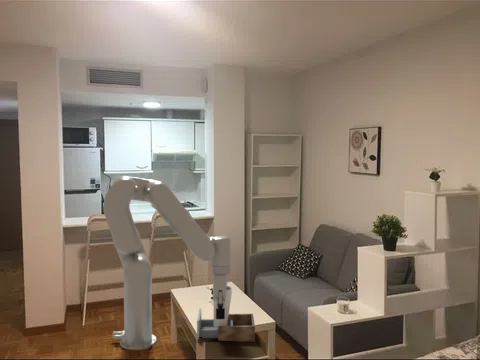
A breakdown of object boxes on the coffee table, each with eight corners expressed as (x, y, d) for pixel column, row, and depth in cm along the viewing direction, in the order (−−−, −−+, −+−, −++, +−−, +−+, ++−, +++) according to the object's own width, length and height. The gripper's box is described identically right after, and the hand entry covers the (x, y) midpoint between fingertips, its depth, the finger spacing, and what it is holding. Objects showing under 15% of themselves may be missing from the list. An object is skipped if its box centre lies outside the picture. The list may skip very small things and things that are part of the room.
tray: (197, 339, 147) (197, 320, 147) (199, 325, 160) (199, 308, 159) (233, 339, 148) (233, 320, 147) (232, 325, 160) (232, 308, 160)
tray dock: (218, 342, 147) (218, 326, 147) (219, 328, 160) (219, 313, 160) (254, 342, 148) (255, 326, 148) (252, 328, 160) (252, 313, 160)
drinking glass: (231, 325, 156) (234, 286, 155) (225, 331, 149) (229, 291, 149) (214, 322, 157) (217, 284, 157) (208, 328, 151) (211, 288, 151)
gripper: (211, 263, 161) (211, 307, 162) (209, 275, 144) (209, 324, 145) (230, 263, 161) (230, 306, 162) (230, 275, 144) (230, 324, 145)
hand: (220, 314), depth 153 cm, fingers closed on drinking glass, 6 cm apart
